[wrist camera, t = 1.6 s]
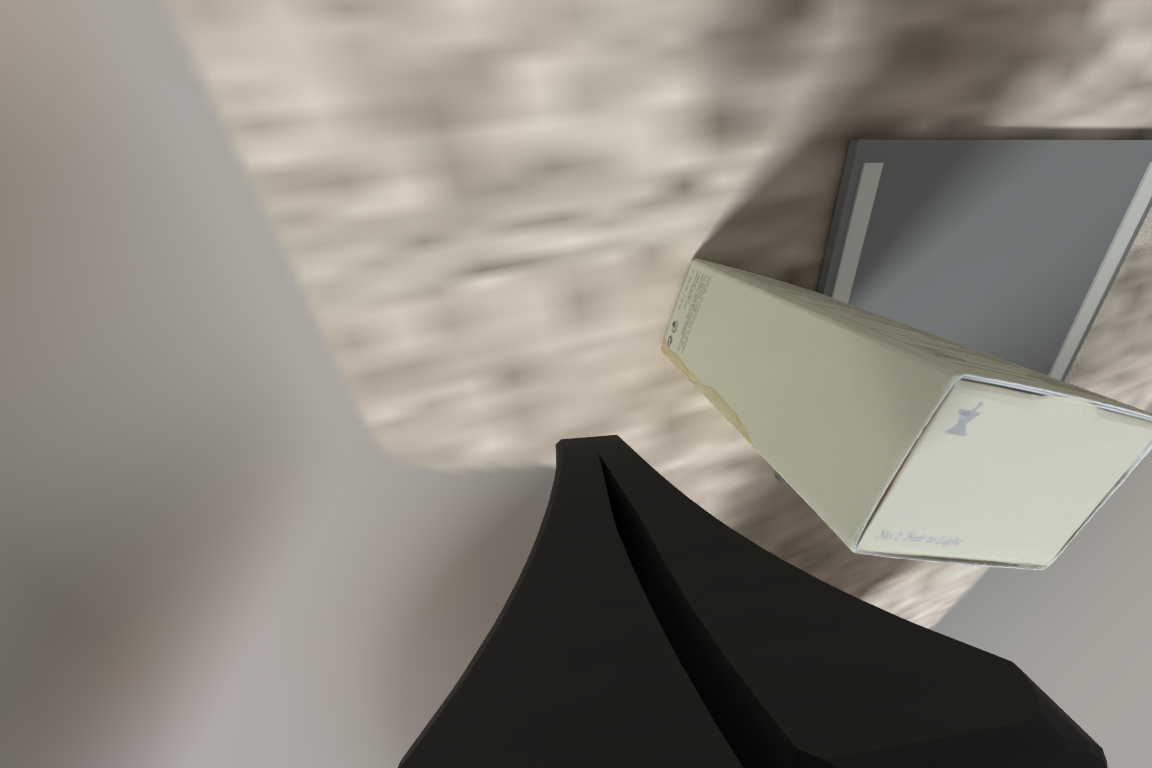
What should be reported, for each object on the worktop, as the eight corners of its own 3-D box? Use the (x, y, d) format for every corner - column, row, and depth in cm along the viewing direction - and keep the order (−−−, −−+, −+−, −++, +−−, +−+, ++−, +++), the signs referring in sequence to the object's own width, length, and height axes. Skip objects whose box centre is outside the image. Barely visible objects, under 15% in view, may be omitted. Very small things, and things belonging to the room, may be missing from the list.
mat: (1016, 452, 26) (1027, 458, 26) (775, 476, 25) (781, 483, 24) (1169, 140, 20) (1187, 139, 19) (850, 140, 18) (860, 139, 17)
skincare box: (657, 350, 20) (833, 558, 10) (692, 251, 19) (955, 366, 8) (776, 375, 22) (1047, 581, 11) (819, 286, 20) (1189, 424, 9)
